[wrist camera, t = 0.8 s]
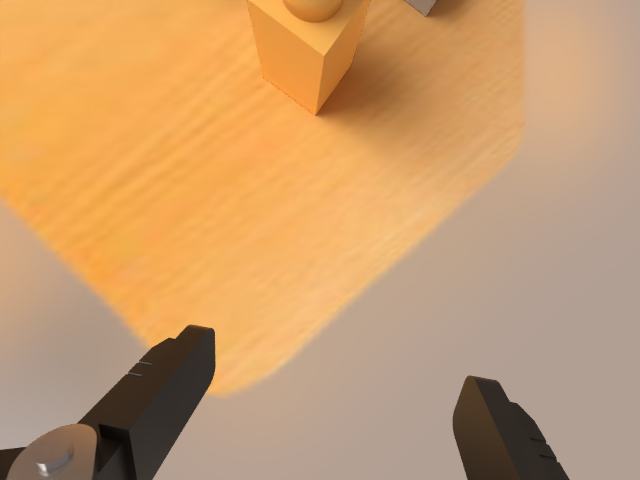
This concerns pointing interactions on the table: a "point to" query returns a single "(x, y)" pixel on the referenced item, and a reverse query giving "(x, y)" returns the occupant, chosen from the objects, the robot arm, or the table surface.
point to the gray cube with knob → (422, 5)
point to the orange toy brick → (306, 44)
